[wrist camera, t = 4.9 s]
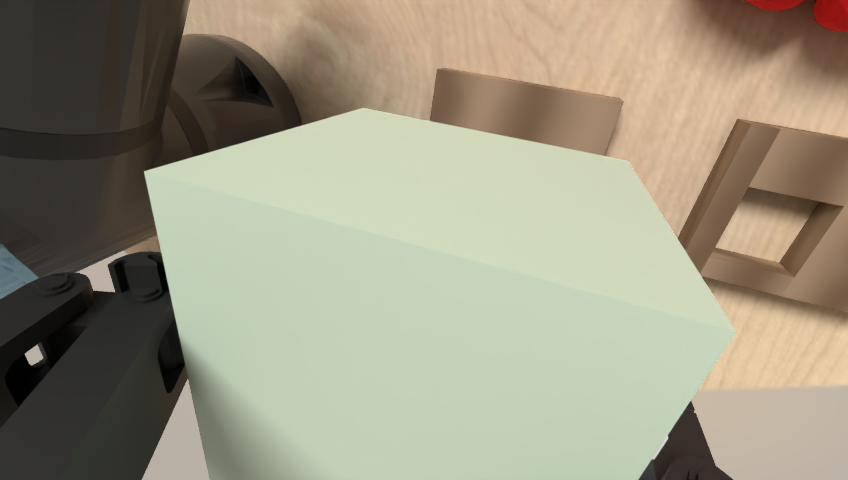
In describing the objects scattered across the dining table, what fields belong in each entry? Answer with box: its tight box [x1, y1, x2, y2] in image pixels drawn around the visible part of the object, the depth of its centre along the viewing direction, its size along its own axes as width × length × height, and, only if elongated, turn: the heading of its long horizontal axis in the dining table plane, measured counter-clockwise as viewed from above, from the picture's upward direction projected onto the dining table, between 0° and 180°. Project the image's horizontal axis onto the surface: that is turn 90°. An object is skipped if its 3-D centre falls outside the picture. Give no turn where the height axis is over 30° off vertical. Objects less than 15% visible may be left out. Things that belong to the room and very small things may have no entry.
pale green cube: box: [144, 108, 736, 480], centre depth 11 cm, size 9×9×9 cm
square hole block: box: [678, 119, 848, 313], centre depth 24 cm, size 12×10×2 cm
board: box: [430, 68, 623, 156], centre depth 26 cm, size 12×10×7 cm
